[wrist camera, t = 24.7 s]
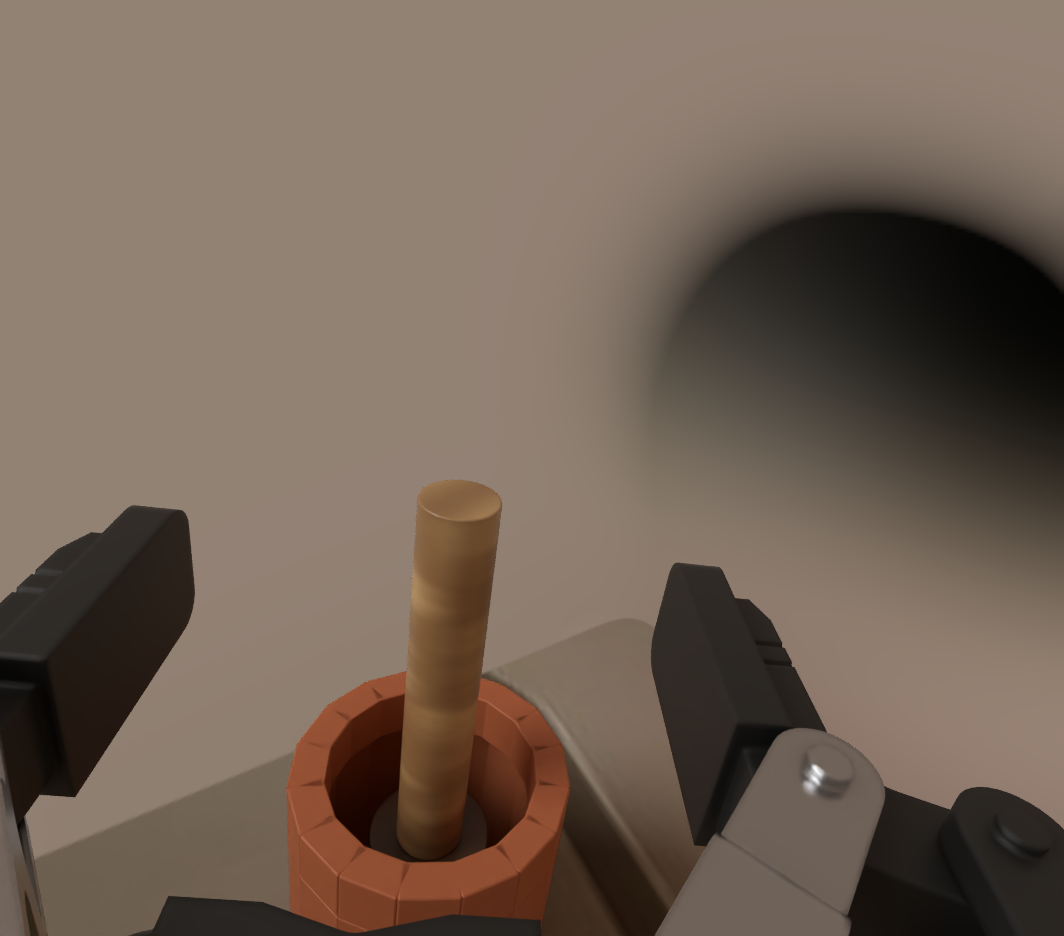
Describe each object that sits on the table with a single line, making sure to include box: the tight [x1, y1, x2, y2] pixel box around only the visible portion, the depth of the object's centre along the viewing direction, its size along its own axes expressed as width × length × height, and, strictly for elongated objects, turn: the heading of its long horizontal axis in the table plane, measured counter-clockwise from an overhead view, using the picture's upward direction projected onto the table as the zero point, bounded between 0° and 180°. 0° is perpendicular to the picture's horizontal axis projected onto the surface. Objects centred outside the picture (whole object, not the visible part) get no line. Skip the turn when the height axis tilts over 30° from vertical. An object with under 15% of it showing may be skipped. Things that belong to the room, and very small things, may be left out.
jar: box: [286, 672, 570, 933], centre depth 27 cm, size 10×10×10 cm
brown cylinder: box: [368, 480, 502, 862], centre depth 24 cm, size 4×4×20 cm
